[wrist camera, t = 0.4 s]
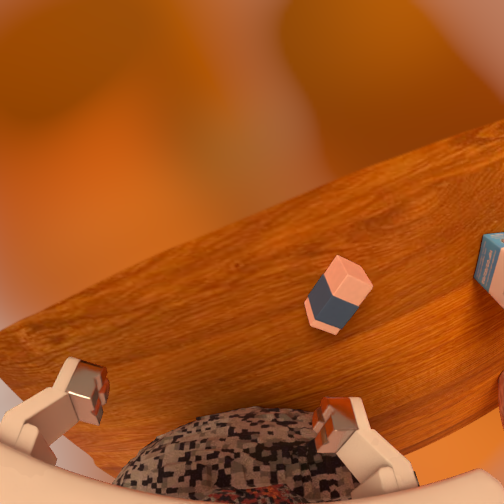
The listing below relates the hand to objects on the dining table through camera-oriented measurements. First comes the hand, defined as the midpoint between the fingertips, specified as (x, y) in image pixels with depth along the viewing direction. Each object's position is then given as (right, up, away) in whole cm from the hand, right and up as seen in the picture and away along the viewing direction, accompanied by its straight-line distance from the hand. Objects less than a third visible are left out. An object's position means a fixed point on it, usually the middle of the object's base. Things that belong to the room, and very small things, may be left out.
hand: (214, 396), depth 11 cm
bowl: (+2, -17, +24) cm, 30 cm away
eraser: (+8, +3, +15) cm, 17 cm away
